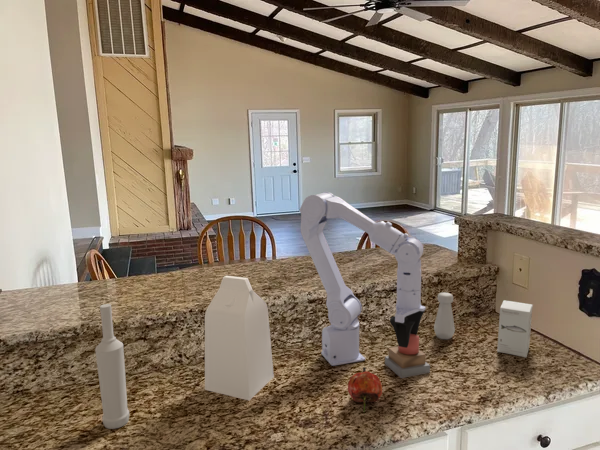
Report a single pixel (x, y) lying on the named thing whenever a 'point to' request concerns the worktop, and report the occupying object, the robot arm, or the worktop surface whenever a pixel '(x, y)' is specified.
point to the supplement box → (514, 328)
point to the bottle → (111, 374)
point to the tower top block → (406, 358)
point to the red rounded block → (411, 346)
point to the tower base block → (409, 370)
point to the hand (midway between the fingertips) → (407, 340)
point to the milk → (237, 341)
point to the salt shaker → (444, 317)
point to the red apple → (365, 387)
